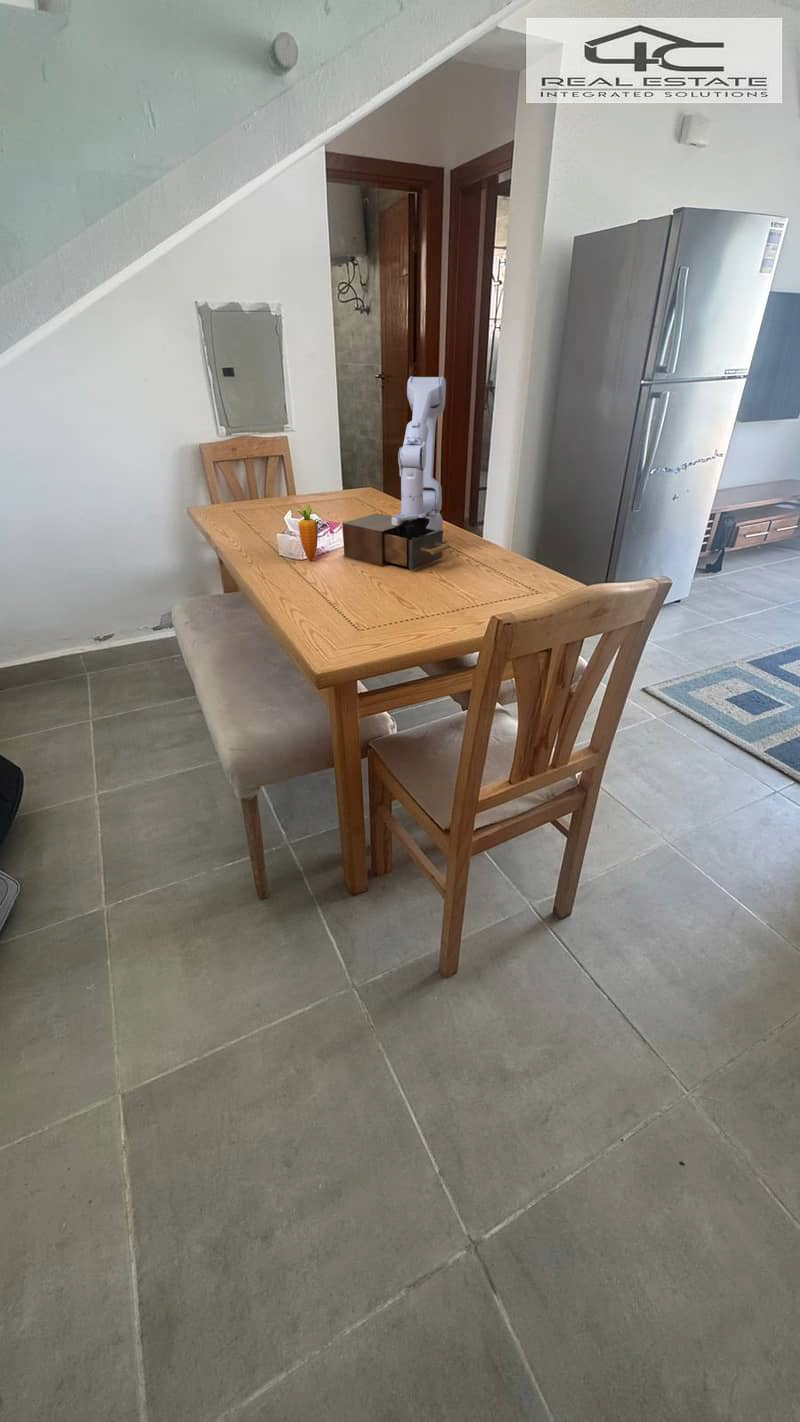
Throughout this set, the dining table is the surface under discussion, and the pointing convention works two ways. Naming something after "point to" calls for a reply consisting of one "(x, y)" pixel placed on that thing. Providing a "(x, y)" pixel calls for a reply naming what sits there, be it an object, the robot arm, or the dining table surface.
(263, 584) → the dining table surface
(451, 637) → the dining table surface
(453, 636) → the dining table surface
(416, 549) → the drawer
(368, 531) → the cabinet
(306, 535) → the carrot
